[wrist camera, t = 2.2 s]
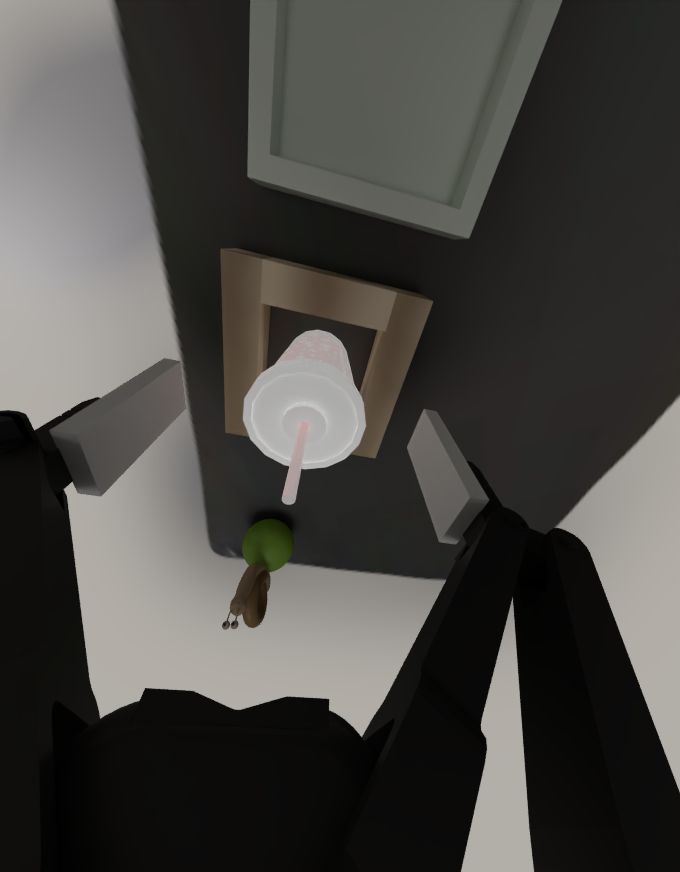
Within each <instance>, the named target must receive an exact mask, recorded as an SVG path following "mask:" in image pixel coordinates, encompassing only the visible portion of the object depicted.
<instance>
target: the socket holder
mask: <svg viewBox="0 0 680 872" xmlns="http://www.w3.org/2000/svg"><path fill="white" fill-rule="evenodd" d="M220 251H221V286H222V321H223V356H224V391H225V426H226V433H232V434H237V435H243V436H249V434H248V432H247V429H246V427H245V424H244V422H243V409H244V398H245V397H246V395H247V393H248V392H249V390H250V389H251V387H252V385H253V384H254V382H255V380H256V379H257V377H259V375H260V374H261V373H262V372H264V371H266V370H267V357H268V341H269V326H270V310H271V306H276V307H280V308H284V309H289V310H293V311H297V312H302V313H306V314H310V315H315V316H319V317H324V318H328V319H332V320H337V321H341V322H345V323H350V324H354V325H359V326H363V327H367V328H372V329H376V330H377V333H376V337H375V340H374V344H373V347H372V351H371V354H370V358H369V362H368V365H367V369H366V372H365V376H364V379H363V383H362V387H361V390H360V395H361V397H362V400H363V402H364V411H365V421H366V428H365V430H364V433H363V436H362V438H361V441H360V444H359V445H358V446H357V447H356V448H355V449H354V450H353V451H352V452H351V453H350V454H353V455H358V456H364V457H370V458H375V457H376V455H377V452H378V449H379V447H380V444H381V441H382V438H383V436H384V433H385V430H386V428H387V425H388V422H389V420H390V417H391V414H392V412H393V409H394V406H395V403H396V401H397V398H398V395H399V393H400V390H401V387H402V385H403V382H404V379H405V377H406V374H407V371H408V368H409V366H410V363H411V360H412V358H413V355H414V352H415V350H416V347H417V344H418V342H419V339H420V336H421V333H422V331H423V328H424V325H425V323H426V320H427V317H428V315H429V312H430V309H431V307H432V304H433V301H432V300H430V299H429V298H427V297H425V296H424V295H422V294H419V293H415V292H411V291H407V290H403V289H399V288H395V287H391V286H387V285H383V284H379V283H375V282H371V281H367V280H363V279H359V278H355V277H351V276H347V275H343V274H339V273H335V272H331V271H327V270H323V269H319V268H315V267H311V266H307V265H303V264H299V263H295V262H291V261H287V260H283V259H279V258H275V257H271V256H267V255H263V254H259V253H255V252H251V251H247V250H243V249H239V248H234V249H220Z"/></svg>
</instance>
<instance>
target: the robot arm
mask: <svg viewBox="0 0 680 872" xmlns="http://www.w3.org/2000/svg"><path fill="white" fill-rule="evenodd" d="M185 409H186V406H185V397H184V389H183V380H182V372H181V363H180V361H176V360H171V359H165V358H164V359H163V360H161V361H159V362H158V363H156V364H154V365H153V366H151V367H150V368H148V369H147V370H145V371H143V372H142V373H140V374H139V375H137V376H135V377H134V378H132V379H131V380H129V381H128V382H126V383H124V384H123V385H121V386H120V387H118V388H116V389H115V390H113V391H111V392H110V393H108V394H107V395H105V396H103V397H102V398H99V397H97V398H94V399H91V400H87V401H84V402H81V403H80V404H78V405H76V406H75V407H73V408H72V409H71V410H68V411H67V412H65V413H63V414H62V416H58V417H56V418H55V419H53V420H51V421H50V422H48V423H46V424H45V425H43V426H41V427H40V428H38V429H36V430H35V431H34V429H33V427H32V425H31V423H30V421H29V419H28V417H27V415H26V414H24V413H21V412H18V411H9V410H7V411H0V872H461V868H462V864H463V859H464V855H465V850H466V846H467V841H468V836H469V832H470V828H471V823H472V819H473V814H474V810H475V805H476V801H477V796H478V791H479V786H480V782H481V778H482V773H483V769H484V765H485V759H486V751H487V744H486V738H485V736H484V735H483V733H482V731H481V720H482V716H483V712H484V708H485V704H486V700H487V696H488V691H489V688H490V684H491V680H492V676H493V672H494V668H495V664H496V660H497V656H498V652H499V648H500V644H501V640H502V636H503V632H504V629H505V625H506V621H507V617H508V613H509V609H510V605H511V601H512V597H513V605H514V620H515V634H516V648H517V659H518V660H517V661H518V674H519V689H520V703H521V717H522V731H523V744H524V758H525V772H526V787H527V800H528V815H529V828H530V838H531V847H532V856H533V865H534V872H680V792H679V789H678V787H677V784H676V781H675V779H674V776H673V773H672V771H671V768H670V765H669V763H668V760H667V757H666V755H665V752H664V749H663V747H662V744H661V741H660V739H659V736H658V733H657V731H656V728H655V725H654V723H653V720H652V717H651V715H650V712H649V709H648V707H647V704H646V701H645V699H644V696H643V693H642V690H641V688H640V685H639V682H638V680H637V677H636V675H635V672H634V669H633V666H632V664H631V661H630V658H629V656H628V653H627V650H626V648H625V645H624V642H623V640H622V637H621V635H620V632H619V629H618V626H617V624H616V621H615V618H614V616H613V613H612V610H611V608H610V605H609V603H608V600H607V597H606V594H605V592H604V589H603V586H602V584H601V581H600V578H599V576H598V573H597V571H596V568H595V565H594V562H593V560H592V557H591V554H590V552H589V550H588V549H587V547H586V546H585V545H584V544H583V542H582V541H581V540H580V539H579V538H578V537H576V536H575V535H573V534H571V533H569V532H567V531H566V530H563V529H560V528H553V529H551V530H550V531H549V532H548V533H547V534H546V535H545V534H543V533H540V532H538V531H535V530H533V529H530V528H529V526H528V525H527V523H526V521H525V520H524V519H523V518H522V517H521V516H520V515H519V514H517V513H516V512H514V511H513V510H510V509H508V508H505V507H503V506H502V504H501V503H500V501H499V500H498V498H497V496H496V495H495V493H494V492H493V490H492V488H491V487H490V486H489V484H488V482H487V481H486V479H484V478H485V477H484V476H483V474H482V473H481V471H480V470H479V469H478V468H477V467H476V466H475V465H474V464H473V463H472V462H469V461H466V460H465V458H464V457H463V455H462V453H461V452H460V450H459V448H458V447H457V445H456V443H455V442H454V440H453V438H452V437H451V435H450V433H449V431H448V430H447V428H446V426H445V425H444V423H443V421H442V420H441V418H440V416H439V415H438V413H437V412H436V411H431V410H426V409H424V410H423V412H422V415H421V417H420V419H419V421H418V424H417V426H416V428H415V431H414V433H413V435H412V437H411V440H410V442H409V444H408V446H407V449H408V452H409V454H410V457H411V460H412V463H413V466H414V469H415V472H416V475H417V478H418V481H419V484H420V487H421V490H422V493H423V496H424V499H425V502H426V505H427V507H428V510H429V513H430V516H431V519H432V522H433V525H434V528H435V531H436V534H437V537H438V540H439V542H443V543H450V544H457V543H458V541H459V540H460V539H461V537H462V536H464V539H465V541H466V543H467V544H466V545H465V546H464V548H463V549H462V550H461V551H460V553H459V554H458V555H457V557H456V558H455V560H456V563H455V564H454V566H453V568H452V570H451V572H450V574H449V576H448V578H447V580H446V582H445V584H444V586H443V588H442V590H441V592H440V594H439V596H438V598H437V600H436V601H435V603H434V605H433V607H432V609H431V611H430V613H429V615H428V617H427V619H426V621H425V623H424V625H423V627H422V628H421V630H420V632H419V634H418V636H417V638H416V640H415V642H414V644H413V646H412V648H411V650H410V652H409V654H408V656H407V658H406V659H405V661H404V663H403V666H402V667H401V669H400V671H399V673H398V675H397V677H396V679H395V681H394V683H393V685H392V687H391V689H390V691H389V692H388V694H387V696H386V698H385V700H384V702H383V703H382V705H381V706H380V708H379V709H378V711H377V712H376V714H375V715H374V717H373V719H372V720H371V722H370V724H369V726H368V727H367V729H366V731H365V733H364V735H363V736H362V737H361V736H360V735H359V733H358V732H357V731H356V730H355V729H354V728H353V727H352V726H351V725H350V724H349V723H348V722H347V721H346V720H345V719H343V718H342V717H340V716H339V715H337V714H336V713H333V712H332V711H329V699H320V698H304V697H283V698H280V699H277V700H273V701H270V702H266V703H263V704H259V705H256V706H252V707H249V708H245V709H242V710H234V709H232V708H229V707H227V706H225V705H223V704H220V703H218V702H216V701H214V700H212V699H210V698H207V697H205V696H203V695H201V694H199V693H196V692H194V691H185V690H168V689H149V688H145V690H144V692H143V695H142V697H141V699H140V701H138V702H134V703H132V704H129V705H127V706H124V707H121V708H119V709H117V710H115V711H113V712H112V713H110V714H108V715H106V716H104V717H102V718H101V719H100V715H99V710H98V706H97V702H96V699H95V696H94V694H93V691H92V688H91V684H90V679H89V672H88V664H87V656H86V648H85V639H84V631H83V624H82V616H81V608H80V600H79V591H78V583H77V575H76V567H75V559H74V551H73V542H72V535H71V526H70V519H69V510H68V502H67V496H66V494H65V491H64V488H66V487H67V486H68V485H69V484H70V483H71V482H72V481H73V484H74V486H75V488H76V490H77V492H78V493H80V494H87V495H95V496H102V495H103V494H104V493H105V492H106V491H107V490H108V489H109V488H110V487H111V485H112V484H113V483H114V482H115V481H116V480H117V479H118V478H119V477H120V476H121V475H122V474H123V473H124V472H125V471H126V470H127V469H128V468H129V467H130V466H131V465H132V464H133V463H134V462H135V461H136V459H137V458H138V457H139V456H140V455H141V454H142V453H143V452H144V451H145V450H146V449H147V448H148V447H149V446H150V445H151V444H152V443H153V442H154V441H155V440H156V439H157V438H158V436H160V435H161V434H162V432H163V431H164V430H165V429H166V428H167V427H168V426H169V425H170V424H171V423H172V422H173V421H174V420H175V419H176V418H177V417H178V416H179V415H180V414H181V413H182V412H183V411H184V410H185Z"/></svg>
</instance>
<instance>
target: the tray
mask: <svg viewBox="0 0 680 872" xmlns="http://www.w3.org/2000/svg"><path fill="white" fill-rule="evenodd" d="M561 3H562V0H250V49H249V112H248V174H247V177H249V178H250V179H251V180H253V181H254V182H255V183H257V184H258V185H259V186H262V187H266V188H269V189H273V190H276V191H280V192H284V193H287V194H291V195H294V196H298V197H302V198H305V199H309V200H312V201H316V202H320V203H323V204H327V205H331V206H334V207H338V208H341V209H345V210H349V211H352V212H356V213H359V214H363V215H367V216H370V217H374V218H377V219H381V220H385V221H388V222H392V223H396V224H399V225H403V226H406V227H410V228H414V229H417V230H421V231H424V232H428V233H432V234H435V235H439V236H442V237H446V238H450V239H453V240H454V239H469V237H470V235H471V232H472V230H473V227H474V225H475V222H476V219H477V217H478V214H479V212H480V209H481V207H482V204H483V202H484V199H485V196H486V194H487V191H488V189H489V186H490V184H491V181H492V179H493V176H494V174H495V171H496V168H497V166H498V163H499V161H500V158H501V156H502V153H503V151H504V148H505V145H506V143H507V140H508V138H509V135H510V133H511V130H512V128H513V125H514V123H515V120H516V117H517V115H518V112H519V110H520V107H521V105H522V102H523V100H524V97H525V94H526V92H527V89H528V87H529V84H530V82H531V79H532V77H533V74H534V71H535V69H536V66H537V64H538V61H539V59H540V56H541V54H542V51H543V49H544V46H545V43H546V41H547V38H548V36H549V33H550V31H551V28H552V26H553V23H554V20H555V18H556V15H557V13H558V10H559V8H560V5H561Z"/></svg>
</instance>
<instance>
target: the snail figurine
mask: <svg viewBox="0 0 680 872" xmlns="http://www.w3.org/2000/svg"><path fill="white" fill-rule="evenodd" d="M293 547H294V539H293V535H292V532H291V530H290V529H289V527H288V526H287V525H286V524H285V523H283V522H281V521H279V520H276V519H265V520H261V521H259V522H257V523H256V524H254V525H253V526H252V527H251V528H250V529H249V530H248V532H247V533H246V535H245V537H244V540H243V546H242V550H243V556H244V558H245V560H246V562H247V564H248V565H249V567H248V568H247V569H246V571H245V573H244V575H243V577H242V578H241V581H240V583H239V585H238V588H237V591H236V595H235V597H234V599H233V600H232V601H231V604H230V613H232V614H233V615H235V616H236V619H235V621H233V622H232V623H231V628H232V629H236V628H237V627H238V621H236V620H237V616H239V615H241V614H242V615H243V619H244V622H245V624H246V625H247V626H248V627H251V628H254V627H257V626H258V625H259V624H260V623H261V622H262V620H263V618H264V615H265V612H266V606H267V591H268V590H269V588H270V574H269V572H272V571H275V570H277V569H279V568H281V567H282V566H283V565H285V564H286V562H287V561H288V560H289V558H290V557H291V554H292V552H293ZM230 613H229V615H230ZM229 615H228V618H229ZM228 618H227V621H225V622H224V623H223V625H222V627H223V629H228V628H229V626H230V623H229V621H228Z"/></svg>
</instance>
